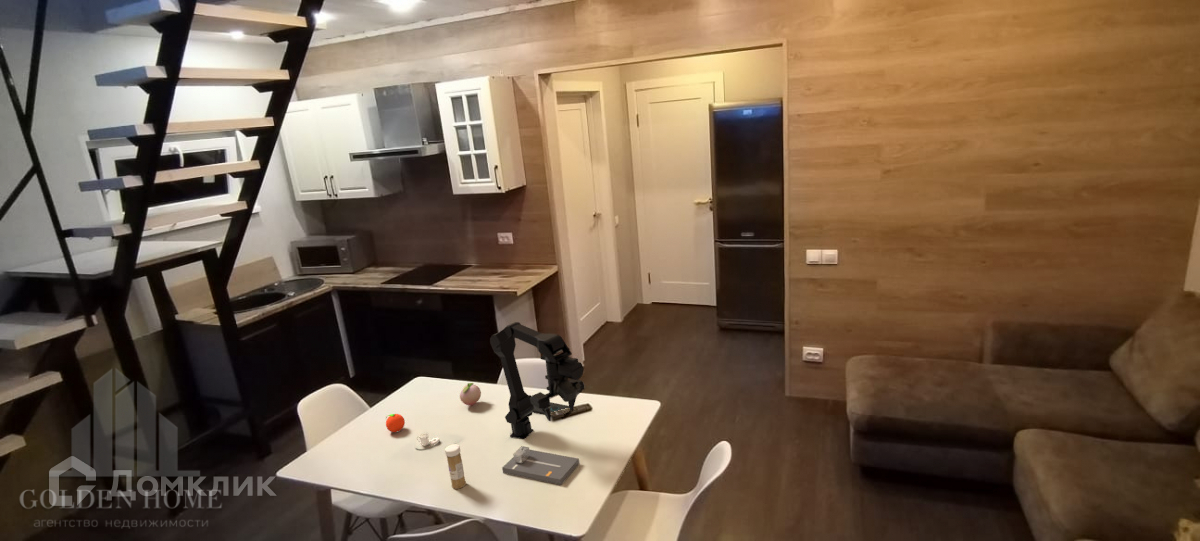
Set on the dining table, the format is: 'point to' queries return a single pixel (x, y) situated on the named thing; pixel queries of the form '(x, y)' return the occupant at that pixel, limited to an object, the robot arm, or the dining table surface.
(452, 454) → the sprinkles bottle
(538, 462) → the board
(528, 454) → the fader tab
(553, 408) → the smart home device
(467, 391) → the decorative fruit
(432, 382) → the dining table surface
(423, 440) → the white charger with cable
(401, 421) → the clementine
